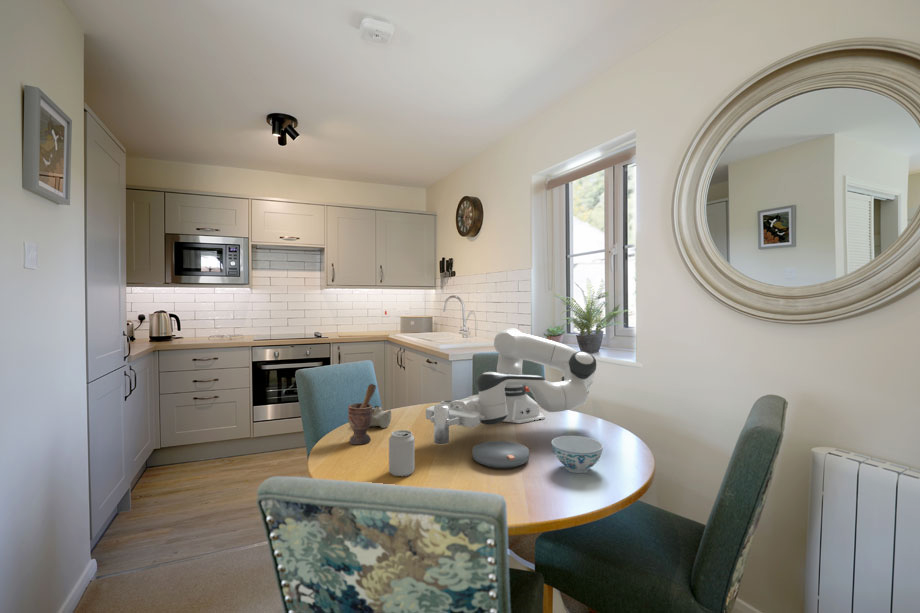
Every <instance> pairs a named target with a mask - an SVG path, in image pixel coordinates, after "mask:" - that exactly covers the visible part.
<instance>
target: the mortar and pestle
mask: <svg viewBox="0 0 920 613" xmlns="http://www.w3.org/2000/svg"><path fill="white" fill-rule="evenodd" d="M376 390H377V385H376V384H373V383H370V384H368V387H367V389H366V392H365V396H364V398H363V402H359V403H353V404H352V403H351V404H349V405H348V406H347V407H348V408H347V409H348V411H347V414H348V416H347V417H348V423H349V426H350V427H349V428H350V429H351V430H352V431H353V434H352V435H351V436H350V438H349V443H350V444H351V445H365V444H368V443H370V442H371V441H372V438H371V436H370V435H369V434H368V433H367V431H368V429H369V428H370V427H372V426H371V422H372V415H373V414H372V412H373V408H374V406H373V404H372V403H371V400H372V398H373V396H374V394H375V392H376Z"/></svg>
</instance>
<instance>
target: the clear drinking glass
mask: <svg viewBox="0 0 920 613" xmlns="http://www.w3.org/2000/svg"><path fill="white" fill-rule="evenodd" d="M439 404H440V403H439ZM434 405H435V406H434V423H433V428H434V429H433V443H434V444H436V445H447V444H449V443H450V426H448V425H446V421H447V420H448V419H449V406H448V405H444V404H440V405H436V404H434Z"/></svg>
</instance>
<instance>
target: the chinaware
mask: <svg viewBox="0 0 920 613" xmlns="http://www.w3.org/2000/svg"><path fill="white" fill-rule="evenodd" d="M551 447H552V451H553V453H554V455H555V457H556V459H557V460H558V461H559V463H561V464H562V465H564V468H565V470H567V472H571V473H574V474H575V473H576V474H584V473H587V472H588V471H589V469H590V468H591V467H593V466H594V465H596V464H597V462H598V461H599V460H600V458H601V455H602V453H603V449H604V446H603V444H602V443H601V442H600V441H598V440H596V439H593V438H590V437H585V436H579V435H562V436H557V437H555V438H553V439H552V440H551Z"/></svg>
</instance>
